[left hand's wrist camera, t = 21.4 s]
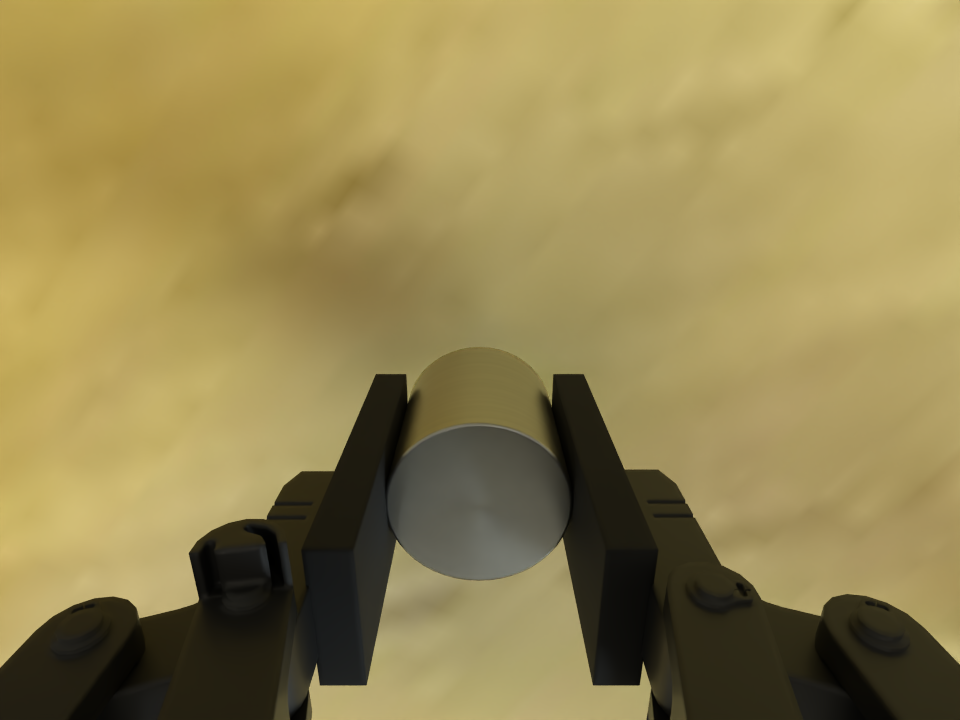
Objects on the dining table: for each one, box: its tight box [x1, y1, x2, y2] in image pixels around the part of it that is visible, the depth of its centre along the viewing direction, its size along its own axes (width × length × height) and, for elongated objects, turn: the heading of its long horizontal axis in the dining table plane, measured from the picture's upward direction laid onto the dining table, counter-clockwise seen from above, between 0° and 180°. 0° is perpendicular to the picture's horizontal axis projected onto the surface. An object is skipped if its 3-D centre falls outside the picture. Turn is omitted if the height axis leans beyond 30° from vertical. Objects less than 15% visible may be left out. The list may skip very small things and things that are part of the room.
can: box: [386, 347, 573, 581], centre depth 13 cm, size 4×4×4 cm
